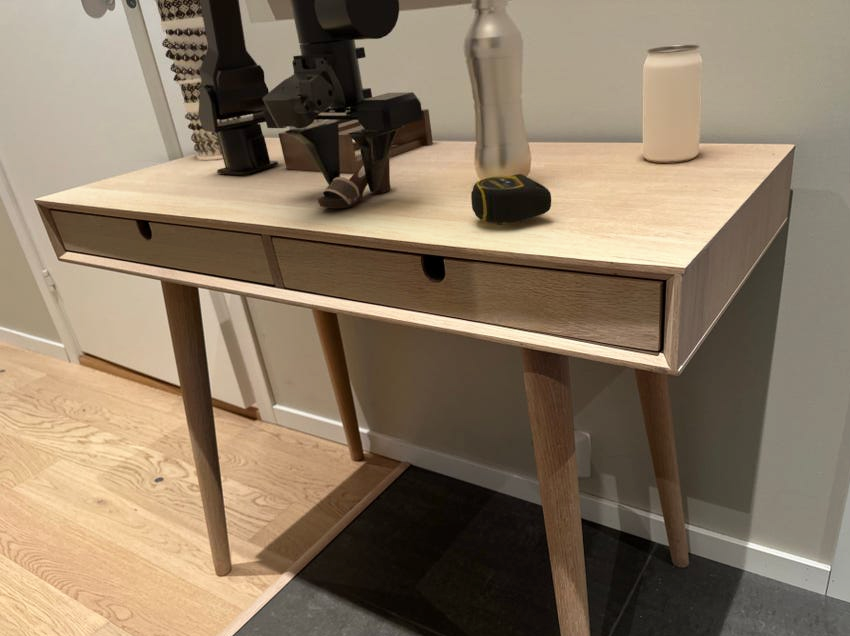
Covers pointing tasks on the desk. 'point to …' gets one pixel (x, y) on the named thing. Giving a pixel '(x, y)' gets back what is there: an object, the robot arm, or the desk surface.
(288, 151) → the shoe rack
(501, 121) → the plastic bottle
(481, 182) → the tape measure
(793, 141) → the desk surface
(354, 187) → the heeled mule
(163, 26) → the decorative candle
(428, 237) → the desk surface
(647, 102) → the can
